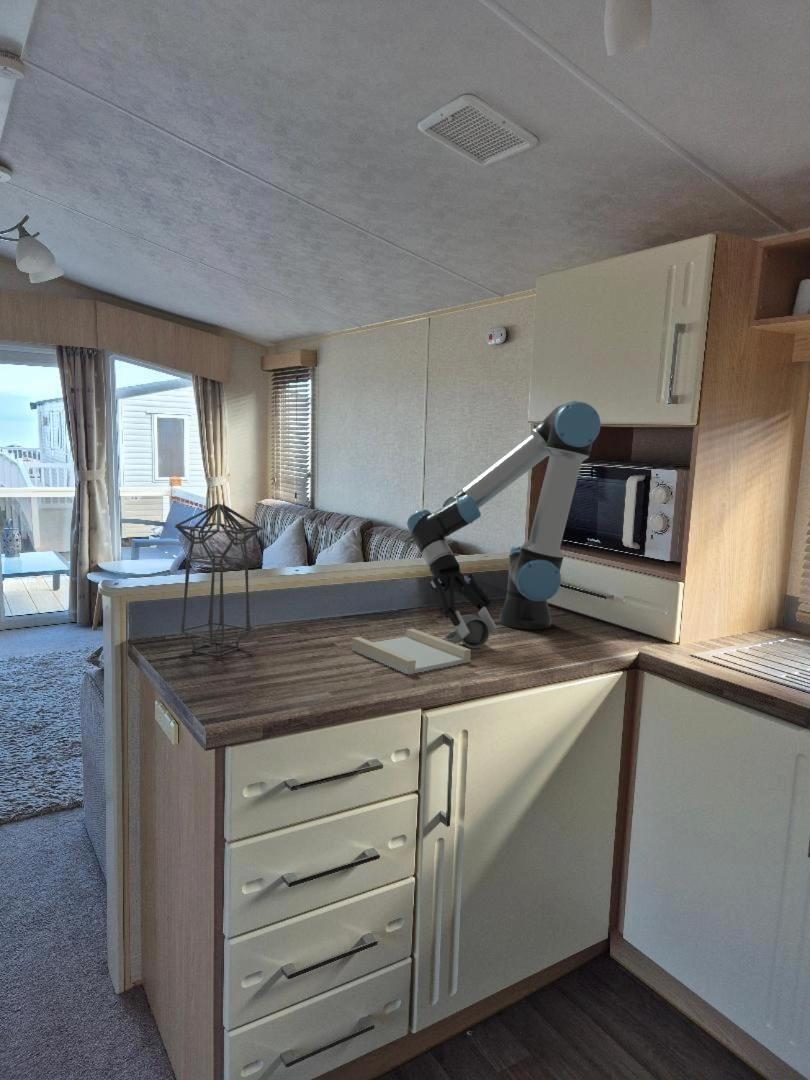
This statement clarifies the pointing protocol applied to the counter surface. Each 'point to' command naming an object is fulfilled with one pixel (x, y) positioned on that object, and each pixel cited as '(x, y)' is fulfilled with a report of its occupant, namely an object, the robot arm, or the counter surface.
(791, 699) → the counter surface
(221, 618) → the geometric lantern
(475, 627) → the ceramic mug
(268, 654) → the counter surface
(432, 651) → the rail tray
